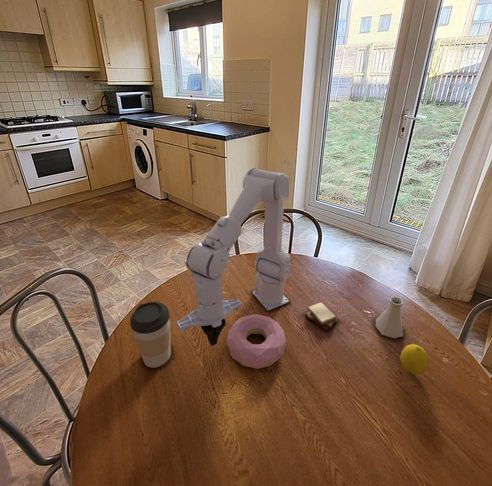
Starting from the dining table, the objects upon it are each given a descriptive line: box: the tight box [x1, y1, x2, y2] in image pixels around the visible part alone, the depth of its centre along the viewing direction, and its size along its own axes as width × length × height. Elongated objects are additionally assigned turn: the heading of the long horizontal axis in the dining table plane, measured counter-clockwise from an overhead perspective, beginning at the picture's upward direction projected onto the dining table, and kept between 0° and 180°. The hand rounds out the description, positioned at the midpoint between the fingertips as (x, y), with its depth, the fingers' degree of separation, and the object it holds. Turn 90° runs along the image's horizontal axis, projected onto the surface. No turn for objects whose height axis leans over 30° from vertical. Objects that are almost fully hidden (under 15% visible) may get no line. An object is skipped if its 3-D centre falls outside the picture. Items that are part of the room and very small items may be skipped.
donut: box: [226, 313, 287, 370], centre depth 76 cm, size 16×15×5 cm
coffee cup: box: [129, 301, 172, 369], centre depth 71 cm, size 9×9×15 cm
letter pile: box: [305, 301, 338, 331], centre depth 84 cm, size 8×7×2 cm
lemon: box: [400, 343, 429, 376], centre depth 68 cm, size 6×6×8 cm
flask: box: [375, 296, 404, 339], centre depth 80 cm, size 7×7×10 cm
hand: (212, 341), depth 68 cm, fingers closed
